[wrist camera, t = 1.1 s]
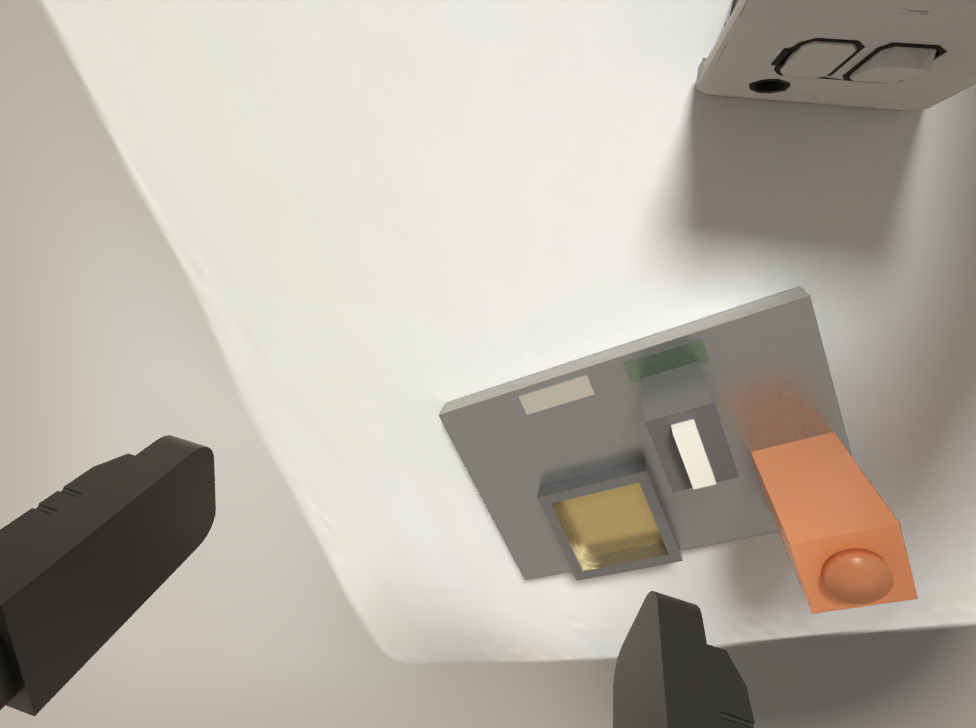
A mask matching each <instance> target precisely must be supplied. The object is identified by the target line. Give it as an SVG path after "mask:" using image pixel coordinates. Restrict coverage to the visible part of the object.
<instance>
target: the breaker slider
mask: <svg viewBox="0 0 976 728" xmlns="http://www.w3.org/2000/svg"><path fill="white" fill-rule="evenodd" d="M640 384H641V392H642V400H643V408H644V417H645V423H646V425H647V428H648V430H649V433H650V436H651V438H652V441H653V443H654V446H655V448H656V451H657V454H658V456H659V459H660V461H661V464H662V466H663V469H664V471H665V474H666V477H667V479H668V482H669V484H670V487H671V489H672V492H677V491H681V490H686V489H690V488H693V489H698V488H702V487H707V486H711V485H716V483H717V482H721V481H725V480H730V479H734V478H738V477H739V475H738V472H737V469H736V466H735V463H734V460H733V457H732V454H731V451H730V448H729V445H728V442H727V439H726V436H725V434H724V431H723V428H722V425H721V422H720V419H719V416H718V413H717V410H716V407H715V404H714V401H713V399H712V396H711V393H710V391H709V388H708V385H707V383H706V380H705V377H704V374H703V372H702V369H701V366H700V364H699V361H697V362H694V363H691V364H687V365H684V366H681V367H678V368H674V369H671V370H668V371H664V372H661V373H658V374H655V375H651V376H648V377H645V378H641V379H640Z"/></svg>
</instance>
